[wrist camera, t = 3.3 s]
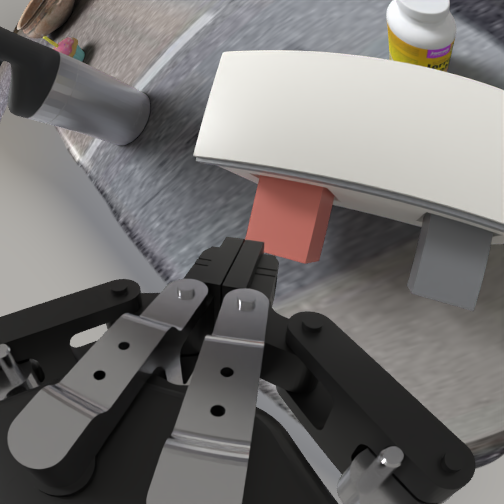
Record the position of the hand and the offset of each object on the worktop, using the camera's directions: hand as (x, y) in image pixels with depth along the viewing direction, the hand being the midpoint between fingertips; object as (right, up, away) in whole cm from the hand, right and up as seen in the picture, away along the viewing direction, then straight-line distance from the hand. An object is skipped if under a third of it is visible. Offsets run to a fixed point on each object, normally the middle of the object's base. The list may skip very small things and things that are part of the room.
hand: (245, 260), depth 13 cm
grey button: (+16, 0, +10) cm, 19 cm away
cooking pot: (-53, +67, +45) cm, 97 cm away
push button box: (+14, +8, +17) cm, 23 cm away
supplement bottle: (+19, +21, +15) cm, 32 cm away
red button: (+4, +3, +15) cm, 16 cm away
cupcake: (-38, +42, +39) cm, 69 cm away
